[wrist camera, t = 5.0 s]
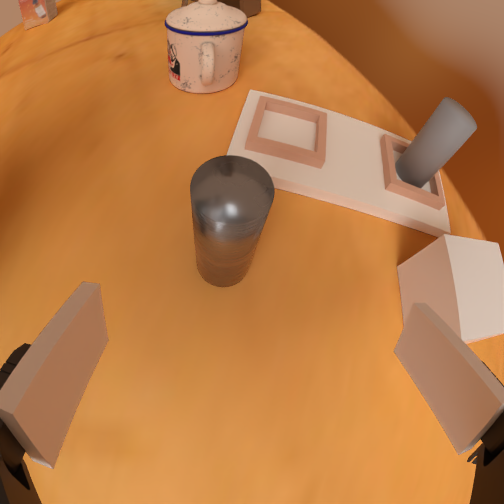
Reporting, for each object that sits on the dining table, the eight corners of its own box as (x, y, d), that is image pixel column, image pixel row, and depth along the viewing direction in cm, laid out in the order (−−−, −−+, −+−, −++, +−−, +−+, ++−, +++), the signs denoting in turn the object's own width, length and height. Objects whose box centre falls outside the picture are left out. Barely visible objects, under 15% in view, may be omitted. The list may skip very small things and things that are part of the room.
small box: (25, 31, 39) (17, 0, 29) (34, 22, 41) (28, -8, 31) (49, 22, 40) (42, -11, 30) (58, 14, 42) (52, -17, 32)
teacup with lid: (168, 61, 33) (167, -12, 22) (234, 59, 34) (244, -13, 24) (164, 114, 28) (158, 20, 18) (247, 110, 30) (264, 18, 19)
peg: (191, 280, 22) (179, 213, 13) (204, 233, 24) (203, 148, 14) (242, 292, 22) (267, 233, 13) (252, 245, 24) (279, 165, 15)
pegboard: (222, 175, 26) (233, 67, 16) (248, 99, 31) (264, 13, 20) (442, 239, 27) (514, 183, 17) (428, 158, 32) (476, 100, 22)
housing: (405, 353, 22) (461, 341, 15) (396, 266, 25) (443, 233, 19) (462, 344, 23) (514, 330, 16) (452, 269, 26) (498, 243, 19)
